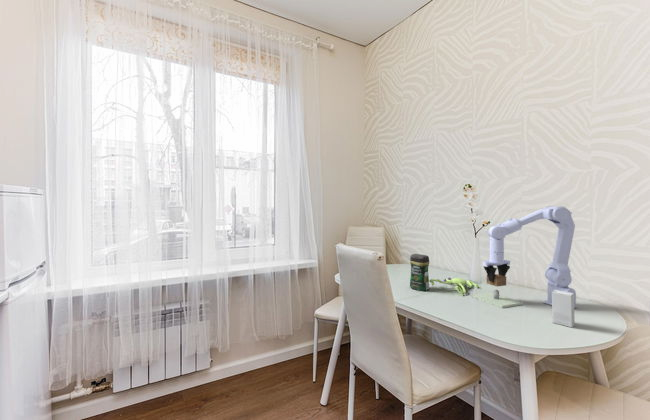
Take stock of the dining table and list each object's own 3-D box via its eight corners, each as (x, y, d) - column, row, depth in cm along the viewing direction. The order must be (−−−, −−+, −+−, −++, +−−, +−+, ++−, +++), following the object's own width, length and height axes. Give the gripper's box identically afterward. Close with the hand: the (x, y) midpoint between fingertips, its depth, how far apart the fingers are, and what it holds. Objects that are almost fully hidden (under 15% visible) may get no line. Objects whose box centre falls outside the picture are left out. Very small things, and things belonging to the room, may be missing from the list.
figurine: (425, 290, 155) (425, 279, 155) (448, 280, 173) (448, 271, 173) (460, 298, 141) (460, 287, 141) (481, 287, 159) (481, 277, 159)
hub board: (522, 304, 131) (522, 293, 131) (501, 308, 127) (501, 296, 127) (491, 294, 146) (491, 284, 146) (472, 296, 142) (472, 286, 142)
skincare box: (574, 324, 109) (575, 292, 109) (572, 328, 106) (572, 295, 106) (554, 319, 114) (554, 289, 114) (551, 322, 111) (551, 291, 111)
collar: (506, 285, 135) (506, 276, 135) (496, 286, 133) (497, 277, 133) (495, 282, 140) (495, 273, 140) (486, 283, 138) (486, 275, 138)
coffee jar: (407, 288, 158) (407, 254, 157) (415, 285, 163) (415, 252, 162) (423, 292, 150) (423, 256, 150) (431, 289, 155) (431, 254, 155)
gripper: (500, 249, 142) (500, 277, 142) (477, 251, 137) (477, 280, 138) (514, 251, 135) (514, 281, 136) (490, 253, 131) (490, 284, 131)
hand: (496, 280), depth 136 cm, fingers closed on collar, 6 cm apart
